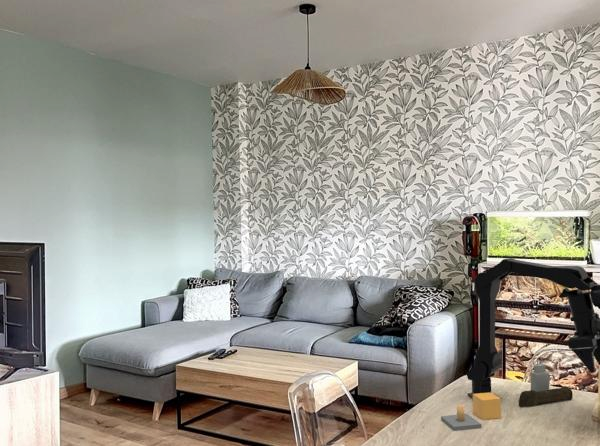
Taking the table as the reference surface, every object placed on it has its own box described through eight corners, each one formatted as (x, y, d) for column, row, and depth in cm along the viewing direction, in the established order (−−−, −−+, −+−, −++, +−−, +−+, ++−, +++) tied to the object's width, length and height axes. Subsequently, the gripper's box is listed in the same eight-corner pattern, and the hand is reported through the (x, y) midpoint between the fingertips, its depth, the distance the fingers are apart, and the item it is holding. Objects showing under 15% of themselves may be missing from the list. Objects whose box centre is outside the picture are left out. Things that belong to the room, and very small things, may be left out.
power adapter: (529, 394, 177) (529, 356, 177) (543, 392, 179) (542, 354, 179) (537, 397, 174) (536, 359, 174) (550, 395, 176) (550, 357, 176)
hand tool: (563, 397, 174) (563, 382, 174) (573, 401, 171) (573, 386, 171) (513, 405, 169) (512, 389, 169) (522, 409, 165) (521, 393, 165)
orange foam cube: (472, 412, 162) (472, 393, 162) (490, 411, 163) (490, 392, 163) (482, 419, 157) (482, 400, 157) (500, 417, 158) (500, 398, 158)
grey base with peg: (441, 419, 158) (440, 402, 157) (467, 417, 159) (467, 399, 159) (453, 430, 150) (453, 412, 150) (481, 427, 151) (481, 409, 151)
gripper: (605, 312, 142) (621, 374, 140) (622, 303, 156) (637, 359, 154) (560, 318, 149) (575, 377, 147) (580, 308, 163) (594, 361, 161)
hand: (597, 368), depth 152 cm, fingers open, 9 cm apart
